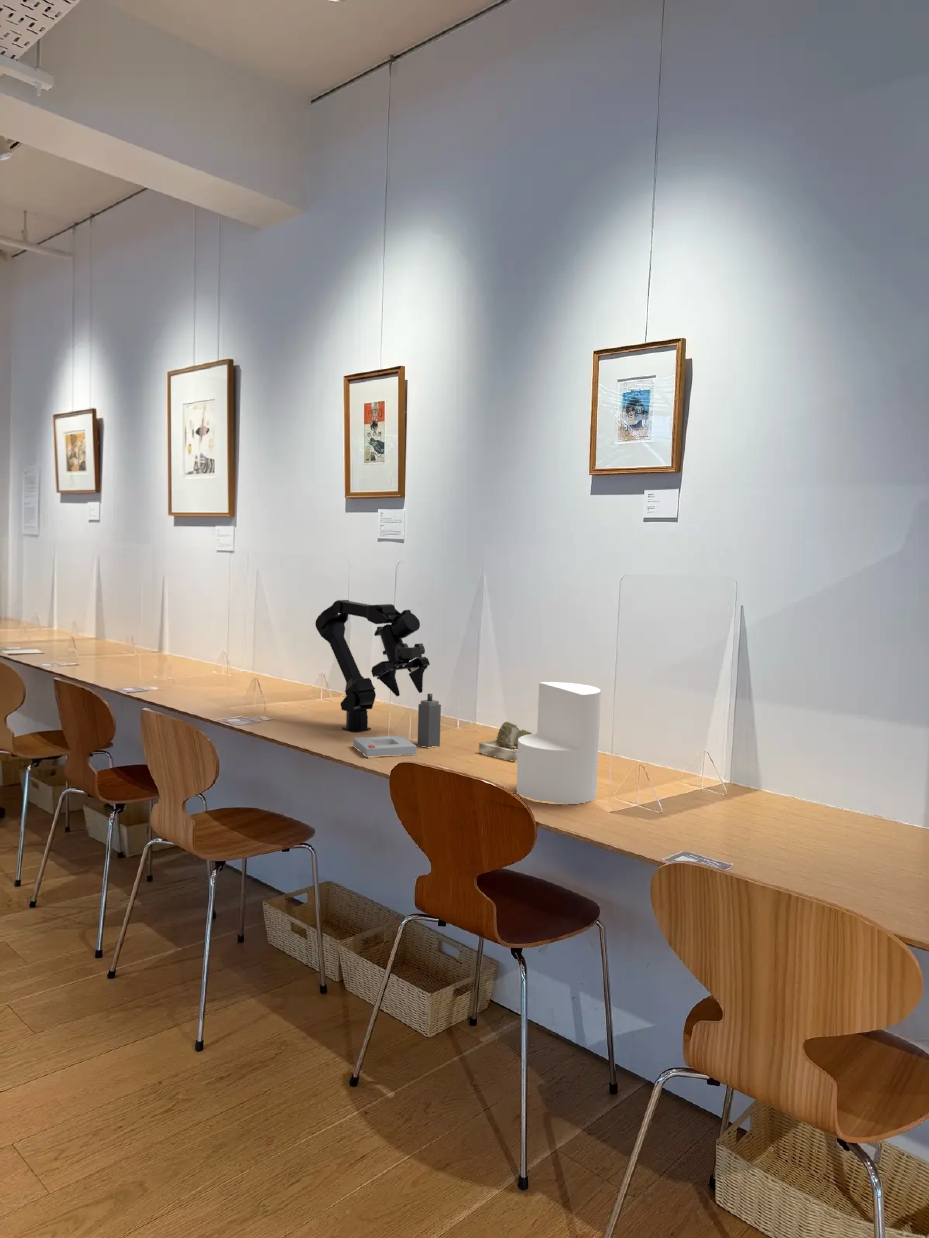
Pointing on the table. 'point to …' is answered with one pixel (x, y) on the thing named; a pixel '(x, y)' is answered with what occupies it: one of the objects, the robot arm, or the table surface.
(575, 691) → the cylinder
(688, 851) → the table surface
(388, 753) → the socket
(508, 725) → the toy
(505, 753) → the tray
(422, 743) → the plug
